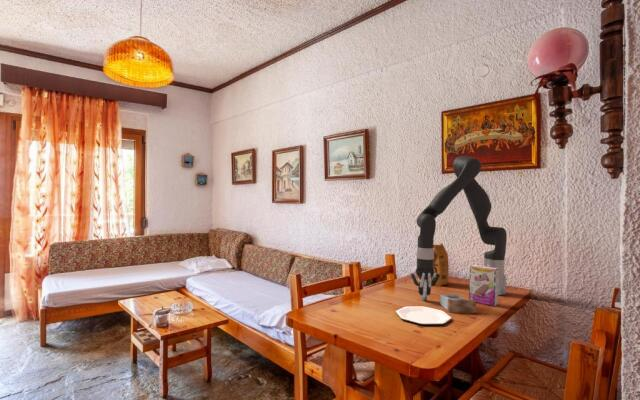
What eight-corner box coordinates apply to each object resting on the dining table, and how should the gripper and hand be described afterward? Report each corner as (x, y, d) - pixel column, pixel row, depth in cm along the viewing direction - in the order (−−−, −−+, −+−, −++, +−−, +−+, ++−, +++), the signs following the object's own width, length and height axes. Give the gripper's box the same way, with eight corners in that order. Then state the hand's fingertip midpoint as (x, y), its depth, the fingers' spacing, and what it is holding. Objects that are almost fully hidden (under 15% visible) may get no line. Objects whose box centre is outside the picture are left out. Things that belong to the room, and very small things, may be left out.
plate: (388, 318, 134) (388, 314, 134) (411, 306, 149) (411, 303, 149) (437, 331, 121) (437, 327, 121) (457, 317, 136) (457, 314, 136)
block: (458, 304, 152) (458, 294, 152) (466, 310, 144) (466, 299, 144) (440, 304, 151) (440, 294, 151) (447, 310, 143) (447, 299, 143)
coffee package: (423, 283, 189) (423, 243, 189) (434, 280, 198) (435, 242, 198) (439, 287, 182) (440, 245, 182) (450, 283, 191) (451, 244, 190)
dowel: (426, 299, 159) (426, 278, 159) (428, 301, 156) (428, 279, 156) (420, 299, 159) (421, 278, 159) (422, 301, 156) (422, 279, 156)
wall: (473, 310, 144) (473, 299, 144) (475, 312, 142) (475, 300, 142) (447, 310, 143) (447, 298, 143) (449, 312, 141) (449, 300, 141)
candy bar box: (468, 301, 157) (469, 265, 157) (472, 299, 161) (473, 264, 161) (494, 307, 150) (495, 269, 149) (498, 304, 153) (499, 268, 153)
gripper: (412, 258, 153) (411, 297, 153) (443, 259, 154) (442, 297, 154) (407, 255, 161) (407, 292, 161) (437, 256, 161) (436, 292, 161)
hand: (424, 294), depth 157 cm, fingers closed on dowel, 2 cm apart
